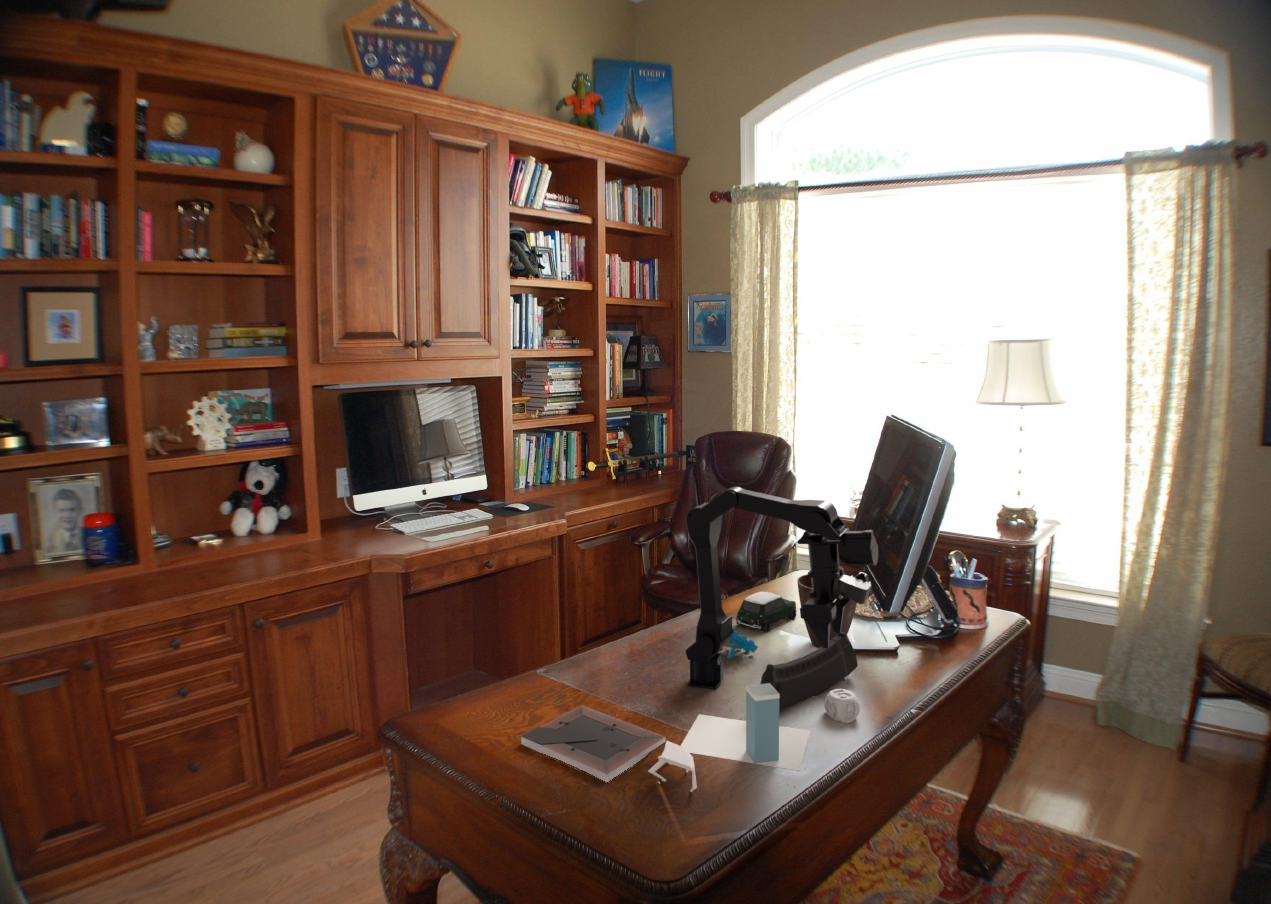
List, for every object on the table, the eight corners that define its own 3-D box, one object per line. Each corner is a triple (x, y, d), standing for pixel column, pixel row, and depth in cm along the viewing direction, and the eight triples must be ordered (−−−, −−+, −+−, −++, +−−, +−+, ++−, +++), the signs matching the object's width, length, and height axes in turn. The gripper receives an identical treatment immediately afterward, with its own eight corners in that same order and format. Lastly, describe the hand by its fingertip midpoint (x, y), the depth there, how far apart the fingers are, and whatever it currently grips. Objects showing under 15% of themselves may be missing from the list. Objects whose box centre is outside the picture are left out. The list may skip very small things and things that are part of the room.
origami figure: (637, 777, 140) (636, 750, 139) (673, 761, 145) (673, 735, 145) (682, 808, 131) (682, 780, 130) (720, 789, 136) (720, 762, 135)
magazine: (759, 682, 156) (848, 605, 174) (747, 676, 159) (835, 601, 176) (775, 752, 162) (860, 671, 179) (763, 746, 164) (847, 666, 182)
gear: (766, 650, 191) (743, 628, 186) (756, 672, 188) (732, 650, 184) (732, 643, 199) (709, 622, 195) (722, 664, 197) (698, 643, 192)
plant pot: (811, 629, 209) (812, 569, 206) (867, 640, 200) (869, 578, 198) (786, 647, 197) (786, 584, 194) (845, 661, 188) (846, 594, 186)
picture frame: (521, 747, 152) (607, 786, 139) (521, 735, 152) (607, 773, 138) (581, 715, 165) (665, 747, 151) (581, 703, 164) (665, 735, 151)
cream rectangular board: (677, 753, 148) (677, 750, 148) (699, 717, 162) (698, 714, 161) (798, 773, 140) (799, 770, 140) (810, 733, 154) (810, 730, 154)
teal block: (754, 763, 143) (755, 696, 141) (745, 750, 147) (746, 685, 145) (778, 760, 144) (779, 693, 142) (769, 747, 148) (769, 683, 146)
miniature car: (799, 617, 218) (799, 589, 216) (760, 636, 205) (760, 605, 204) (771, 610, 224) (771, 582, 223) (732, 627, 211) (732, 598, 210)
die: (844, 710, 164) (845, 686, 163) (859, 721, 159) (860, 697, 158) (823, 714, 162) (824, 691, 161) (838, 725, 157) (838, 701, 157)
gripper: (853, 577, 149) (861, 659, 151) (875, 553, 166) (882, 627, 167) (795, 576, 155) (803, 655, 156) (822, 553, 171) (829, 624, 172)
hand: (831, 640), depth 163 cm, fingers open, 9 cm apart
